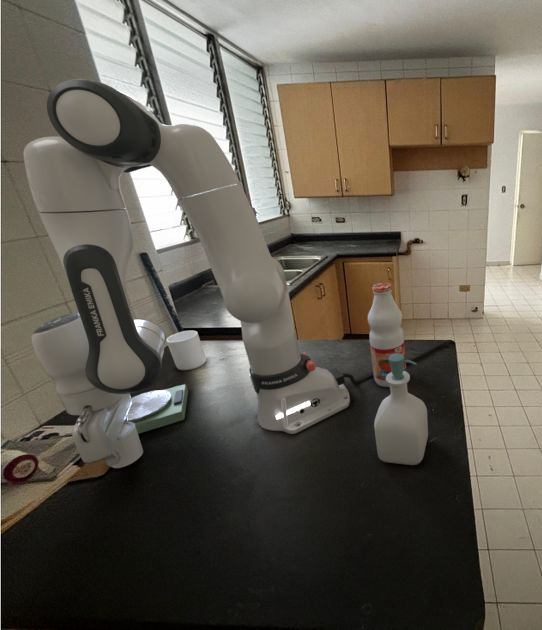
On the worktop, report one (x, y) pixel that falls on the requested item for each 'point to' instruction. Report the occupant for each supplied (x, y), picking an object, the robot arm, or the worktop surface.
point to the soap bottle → (401, 419)
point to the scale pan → (147, 404)
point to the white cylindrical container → (128, 445)
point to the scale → (166, 411)
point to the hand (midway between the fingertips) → (120, 447)
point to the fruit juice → (384, 332)
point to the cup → (186, 350)
